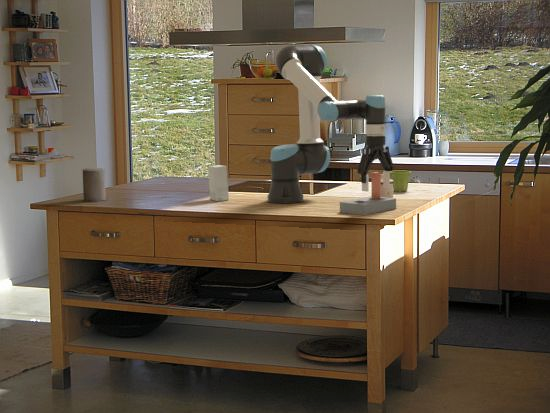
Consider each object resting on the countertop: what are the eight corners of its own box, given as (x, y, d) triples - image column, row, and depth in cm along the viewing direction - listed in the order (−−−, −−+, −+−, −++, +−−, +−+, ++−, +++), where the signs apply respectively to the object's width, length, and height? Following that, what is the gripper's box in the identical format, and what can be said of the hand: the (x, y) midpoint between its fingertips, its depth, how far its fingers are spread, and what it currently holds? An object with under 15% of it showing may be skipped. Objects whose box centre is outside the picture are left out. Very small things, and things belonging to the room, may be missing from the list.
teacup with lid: (375, 200, 395) (375, 172, 394) (396, 201, 392) (396, 173, 390) (366, 204, 384) (366, 176, 383) (387, 205, 381) (387, 176, 379)
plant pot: (410, 189, 428) (410, 170, 427) (411, 192, 419) (411, 172, 418) (389, 189, 429) (389, 170, 428) (390, 192, 420) (390, 172, 418)
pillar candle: (79, 201, 412) (77, 166, 410) (91, 198, 421) (90, 164, 419) (98, 202, 409) (97, 167, 406) (110, 199, 418) (109, 165, 415)
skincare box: (229, 200, 404) (228, 165, 402) (215, 201, 402) (214, 166, 400) (221, 198, 412) (220, 164, 410) (208, 199, 409) (207, 165, 407)
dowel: (369, 208, 372) (369, 172, 370) (375, 207, 375) (375, 171, 373) (376, 209, 370) (377, 173, 368) (382, 208, 373) (382, 172, 370)
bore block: (339, 212, 366) (339, 202, 365) (371, 206, 380) (371, 196, 380) (364, 215, 358) (364, 204, 357) (396, 208, 372) (396, 198, 371)
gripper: (363, 137, 357) (363, 193, 360) (402, 133, 375) (402, 186, 378) (347, 136, 362) (348, 192, 365) (387, 132, 380) (387, 185, 383)
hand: (376, 189), depth 371 cm, fingers open, 13 cm apart
